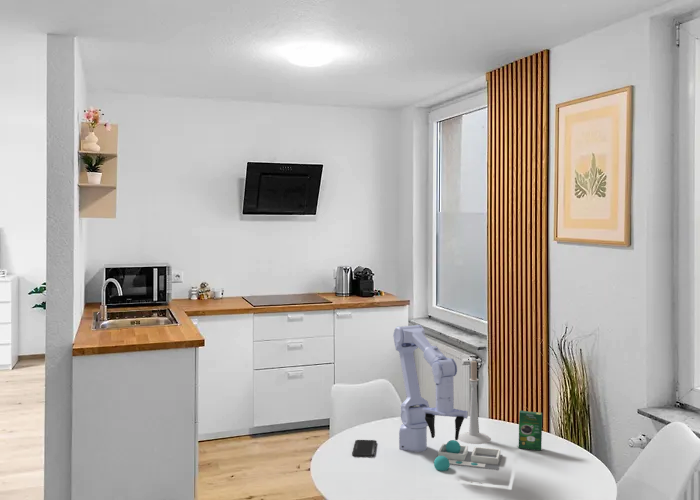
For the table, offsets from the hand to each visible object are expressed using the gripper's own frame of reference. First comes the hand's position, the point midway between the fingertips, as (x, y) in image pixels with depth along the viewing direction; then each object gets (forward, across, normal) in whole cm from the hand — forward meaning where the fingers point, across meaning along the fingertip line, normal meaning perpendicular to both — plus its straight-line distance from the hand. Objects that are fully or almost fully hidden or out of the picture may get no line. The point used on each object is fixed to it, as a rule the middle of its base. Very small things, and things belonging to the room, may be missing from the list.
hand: (444, 438), depth 203 cm
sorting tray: (+10, +6, +9) cm, 15 cm away
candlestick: (+11, +6, +30) cm, 33 cm away
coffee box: (+11, +26, +28) cm, 39 cm away
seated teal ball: (+9, +1, +11) cm, 15 cm away
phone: (+11, -31, +11) cm, 34 cm away
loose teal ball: (+10, -1, -2) cm, 11 cm away
